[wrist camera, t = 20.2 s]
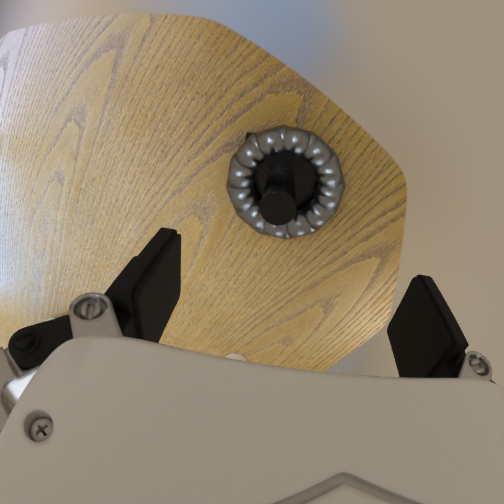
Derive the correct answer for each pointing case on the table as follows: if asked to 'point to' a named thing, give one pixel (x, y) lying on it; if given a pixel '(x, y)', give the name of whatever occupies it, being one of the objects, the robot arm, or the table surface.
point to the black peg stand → (283, 186)
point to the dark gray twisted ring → (295, 144)
